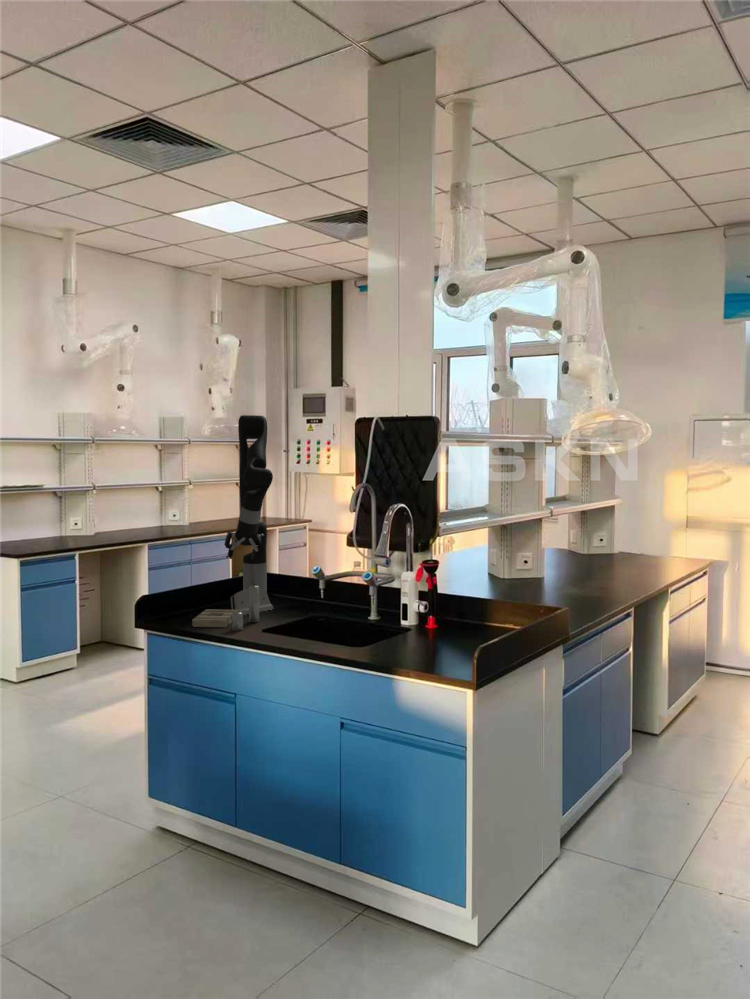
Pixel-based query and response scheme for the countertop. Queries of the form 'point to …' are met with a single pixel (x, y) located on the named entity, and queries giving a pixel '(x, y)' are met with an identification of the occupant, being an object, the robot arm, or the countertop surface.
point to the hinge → (242, 601)
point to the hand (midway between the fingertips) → (241, 558)
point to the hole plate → (213, 618)
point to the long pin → (254, 603)
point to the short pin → (237, 621)
